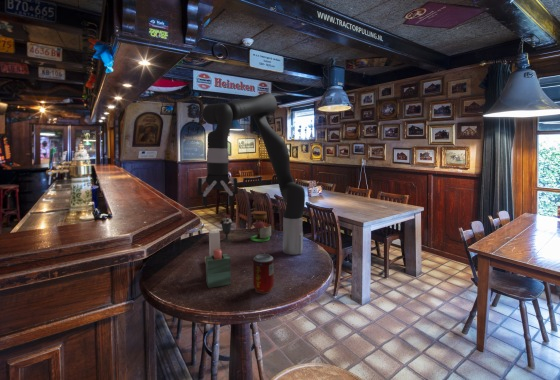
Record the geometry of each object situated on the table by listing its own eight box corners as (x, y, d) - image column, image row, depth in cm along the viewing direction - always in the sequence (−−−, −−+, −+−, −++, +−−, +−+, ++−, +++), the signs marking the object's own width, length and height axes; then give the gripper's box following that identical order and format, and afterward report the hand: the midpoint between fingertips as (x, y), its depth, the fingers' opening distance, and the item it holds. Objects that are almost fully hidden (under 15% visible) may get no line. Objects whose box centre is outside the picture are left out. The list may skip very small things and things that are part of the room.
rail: (230, 284, 110) (230, 258, 108) (208, 288, 107) (207, 261, 105) (217, 260, 133) (216, 238, 132) (199, 262, 130) (198, 240, 129)
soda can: (275, 286, 108) (275, 253, 107) (270, 295, 101) (270, 260, 100) (257, 284, 110) (256, 252, 108) (250, 293, 103) (250, 259, 101)
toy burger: (246, 241, 160) (245, 214, 158) (253, 235, 172) (253, 209, 170) (267, 243, 157) (267, 215, 155) (273, 236, 169) (273, 210, 167)
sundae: (235, 239, 165) (234, 212, 163) (229, 242, 158) (228, 214, 156) (224, 237, 167) (224, 211, 165) (218, 241, 160) (217, 213, 158)
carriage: (223, 276, 114) (222, 233, 112) (210, 278, 112) (208, 234, 110) (220, 270, 120) (219, 229, 117) (207, 272, 118) (206, 230, 115)
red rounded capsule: (222, 264, 109) (222, 251, 108) (214, 265, 108) (214, 252, 107) (221, 261, 111) (220, 249, 111) (213, 263, 110) (213, 249, 110)
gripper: (235, 161, 112) (235, 203, 114) (196, 160, 108) (196, 205, 110) (239, 162, 105) (239, 207, 107) (197, 161, 101) (198, 209, 103)
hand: (217, 206), depth 108 cm, fingers open, 8 cm apart
